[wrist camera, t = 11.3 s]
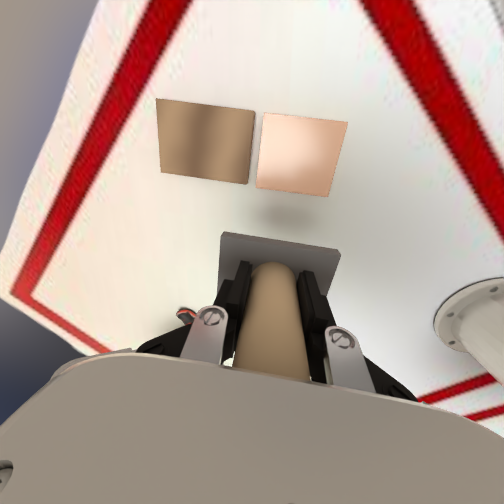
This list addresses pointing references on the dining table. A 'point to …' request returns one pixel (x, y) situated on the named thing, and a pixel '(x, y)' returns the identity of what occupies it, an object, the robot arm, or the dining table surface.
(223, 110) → the board
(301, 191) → the tile
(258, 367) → the float
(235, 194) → the dining table surface
